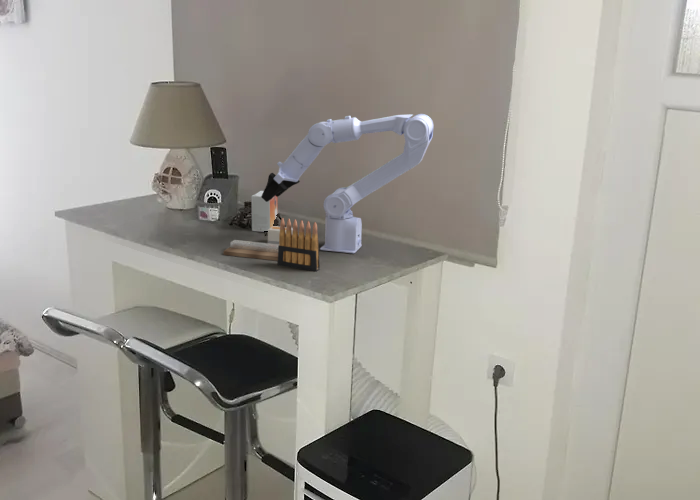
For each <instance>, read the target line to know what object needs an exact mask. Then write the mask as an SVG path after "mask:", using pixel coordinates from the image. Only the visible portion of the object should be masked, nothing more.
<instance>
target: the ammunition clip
mask: <svg viewBox="0 0 700 500" xmlns="http://www.w3.org/2000/svg"><path fill="white" fill-rule="evenodd" d="M284 219H285V218H284V217H281V219H280V223H279V224H280V225H279V226H280V234H279V246H278V261H277V265H278V266H279V267H285V268H293V269H299V270H304V271H305V270H306V271H309V272H310V271H311V272H317V271H319V270H320V268H321V266H320V248H319V237H318V236H319V235H318V234H319V233H318V224H317V222H316V221H314V223H313V225H312V228H311V224H310V220H307V223H306V225H305V224H304V221H303V220H302V219H301V220H300V221H299V228H298V222H297V219H294V221H293V223H292V222H291V219H290V218H287V221H286V224H285V220H284ZM305 226H306V227H305ZM285 227H286V233H285ZM291 228H293V234H292V231H291Z"/></svg>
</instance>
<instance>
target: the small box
mask: <svg viewBox="0 0 700 500" xmlns="http://www.w3.org/2000/svg"><path fill="white" fill-rule="evenodd" d="M263 192H264V190H259V191H258V192H256V193H254V194H253V195H251V197H250V199H251V231H252V232H260V233H261V232H262V233H263V232H264V231H268V229H270V228H271V227H273V224H274V220H275V219H276V217H277V216H276V215H277V214H278V213H279V211H278V206H279V205H278V204H279V203H278V197H279V196H278V197H276V196H274V197H273V198H272V199H271V200H269V201H268V202H266V201H265V200H264V199H263V198H262V197H261V196H262V194H263ZM278 215H279V214H278ZM264 233H265V232H264Z"/></svg>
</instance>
